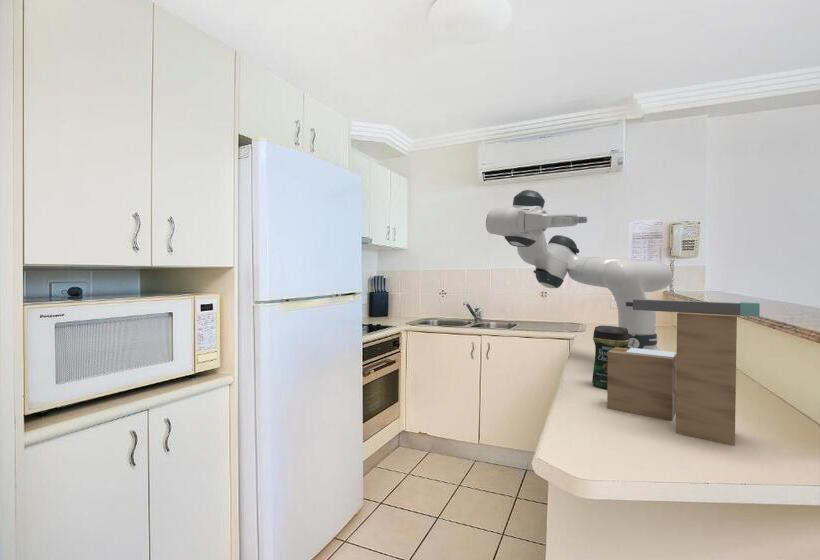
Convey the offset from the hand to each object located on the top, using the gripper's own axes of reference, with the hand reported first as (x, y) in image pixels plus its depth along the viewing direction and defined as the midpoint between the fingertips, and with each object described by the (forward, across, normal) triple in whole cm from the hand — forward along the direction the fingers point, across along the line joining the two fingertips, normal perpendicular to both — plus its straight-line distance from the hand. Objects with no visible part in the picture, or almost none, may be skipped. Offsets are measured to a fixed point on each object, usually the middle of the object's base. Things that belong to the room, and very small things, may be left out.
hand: (579, 220), depth 111 cm
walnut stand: (+26, +7, -47) cm, 54 cm away
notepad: (+20, +2, -33) cm, 39 cm away
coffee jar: (+6, -12, -51) cm, 52 cm away
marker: (+28, +8, -20) cm, 36 cm away
